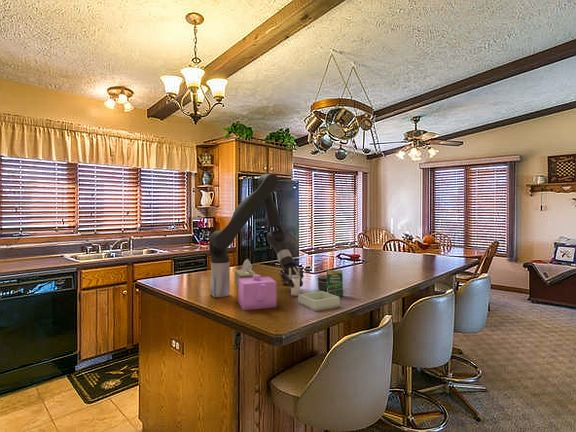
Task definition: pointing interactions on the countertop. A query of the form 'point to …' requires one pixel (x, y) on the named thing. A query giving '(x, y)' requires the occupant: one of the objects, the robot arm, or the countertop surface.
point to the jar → (322, 283)
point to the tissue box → (244, 272)
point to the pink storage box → (257, 292)
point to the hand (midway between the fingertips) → (297, 286)
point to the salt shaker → (295, 284)
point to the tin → (285, 281)
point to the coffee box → (335, 283)
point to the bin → (318, 300)
